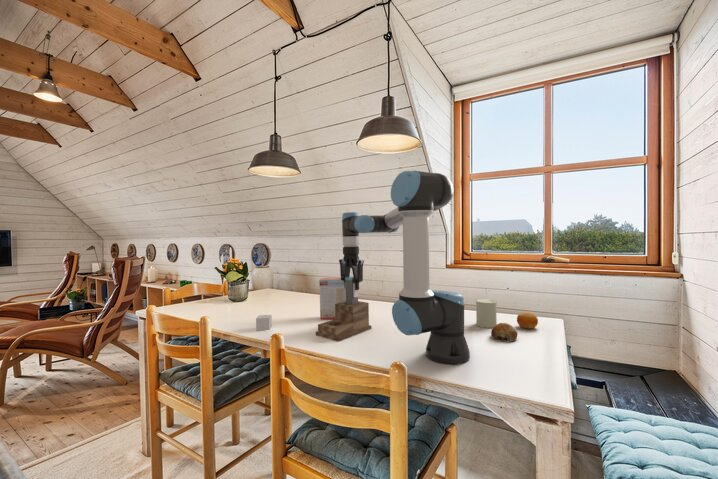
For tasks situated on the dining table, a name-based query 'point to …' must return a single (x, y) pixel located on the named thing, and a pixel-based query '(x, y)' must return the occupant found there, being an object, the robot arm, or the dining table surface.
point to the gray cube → (263, 322)
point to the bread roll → (504, 332)
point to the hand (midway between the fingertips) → (351, 296)
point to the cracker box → (330, 296)
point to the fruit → (527, 320)
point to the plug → (350, 291)
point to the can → (486, 313)
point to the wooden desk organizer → (346, 321)
